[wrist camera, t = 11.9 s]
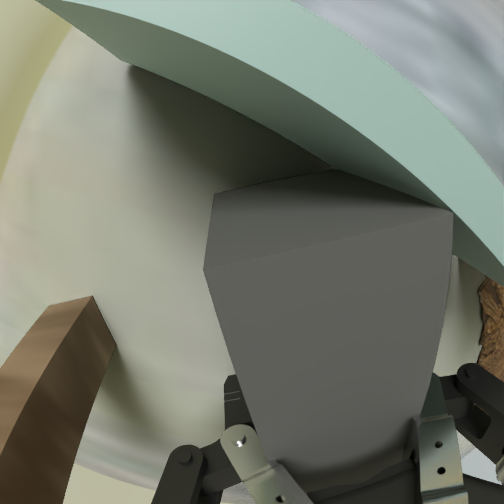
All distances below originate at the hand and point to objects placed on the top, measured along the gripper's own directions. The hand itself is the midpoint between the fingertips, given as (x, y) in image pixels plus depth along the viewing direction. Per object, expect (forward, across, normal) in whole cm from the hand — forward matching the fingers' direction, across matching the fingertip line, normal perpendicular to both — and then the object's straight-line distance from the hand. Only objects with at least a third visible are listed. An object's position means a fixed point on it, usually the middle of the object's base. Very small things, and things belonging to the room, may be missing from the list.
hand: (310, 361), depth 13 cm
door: (+2, -3, -10) cm, 10 cm away
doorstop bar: (+2, 0, 0) cm, 2 cm away
